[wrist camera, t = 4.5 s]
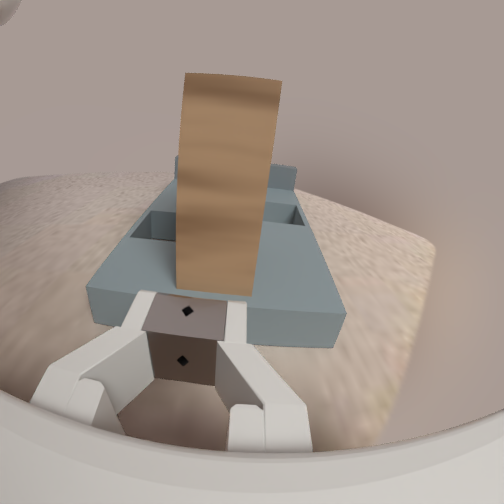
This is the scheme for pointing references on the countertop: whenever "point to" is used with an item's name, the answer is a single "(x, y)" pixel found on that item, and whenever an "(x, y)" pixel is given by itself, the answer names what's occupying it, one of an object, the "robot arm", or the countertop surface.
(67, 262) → the countertop surface
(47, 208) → the countertop surface
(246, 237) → the block
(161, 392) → the countertop surface
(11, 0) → the robot arm
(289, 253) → the deck
